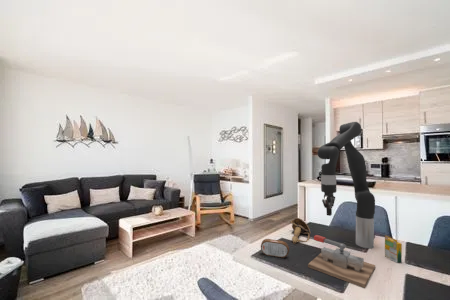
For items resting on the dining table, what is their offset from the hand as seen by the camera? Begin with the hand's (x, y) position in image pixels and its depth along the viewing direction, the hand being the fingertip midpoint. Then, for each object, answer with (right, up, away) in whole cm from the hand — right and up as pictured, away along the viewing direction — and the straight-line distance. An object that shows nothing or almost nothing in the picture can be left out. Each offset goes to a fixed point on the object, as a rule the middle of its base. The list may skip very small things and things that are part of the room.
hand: (329, 215), depth 121 cm
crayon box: (+32, -23, -3) cm, 39 cm away
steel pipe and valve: (0, -21, -12) cm, 24 cm away
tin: (-30, -22, 0) cm, 37 cm away
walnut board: (0, -22, -12) cm, 25 cm away
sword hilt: (-8, -23, +26) cm, 35 cm away
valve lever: (-3, -14, -7) cm, 16 cm away
